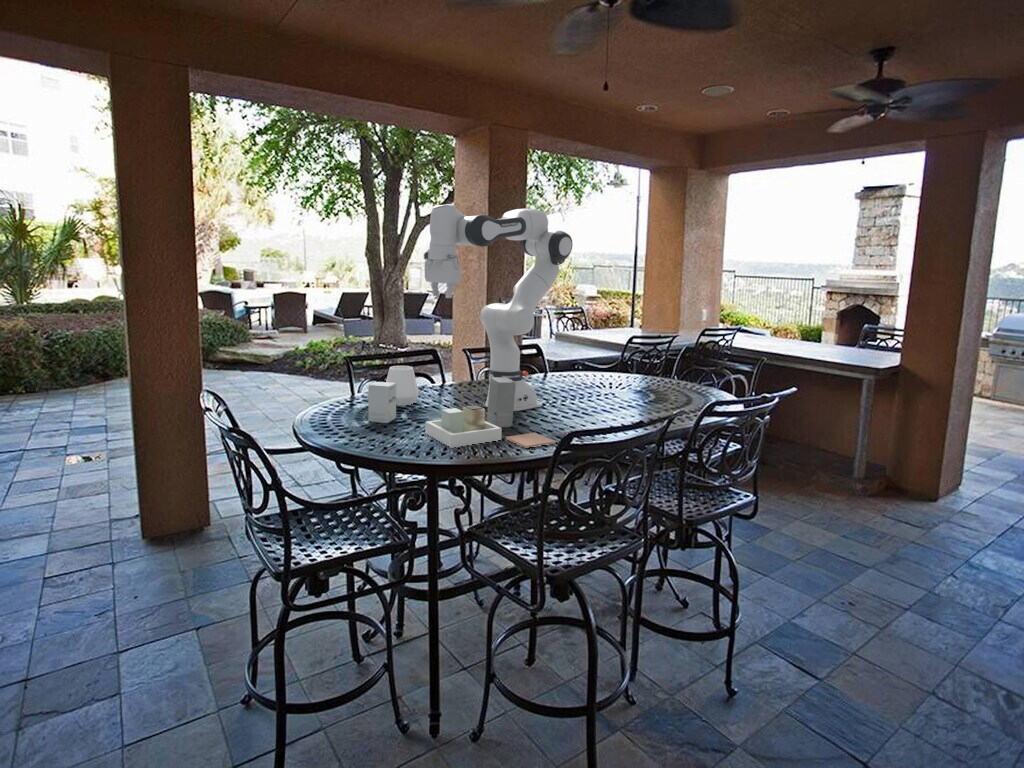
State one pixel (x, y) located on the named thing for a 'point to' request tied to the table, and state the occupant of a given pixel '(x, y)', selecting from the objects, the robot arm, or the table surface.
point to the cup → (404, 384)
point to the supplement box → (382, 402)
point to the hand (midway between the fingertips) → (442, 297)
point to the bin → (463, 434)
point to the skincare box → (501, 401)
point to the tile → (530, 440)
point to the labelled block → (473, 418)
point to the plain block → (452, 420)
